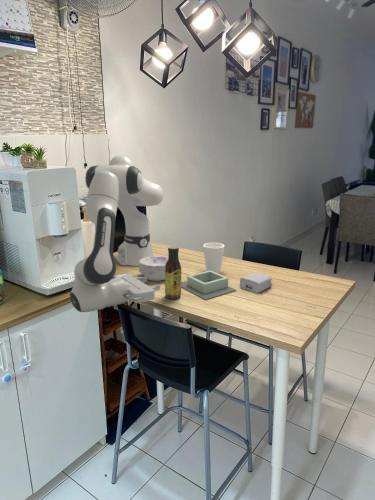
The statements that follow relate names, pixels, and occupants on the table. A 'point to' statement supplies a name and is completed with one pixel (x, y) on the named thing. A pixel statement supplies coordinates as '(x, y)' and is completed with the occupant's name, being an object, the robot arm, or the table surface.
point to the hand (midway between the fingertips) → (152, 282)
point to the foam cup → (213, 256)
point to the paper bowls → (153, 267)
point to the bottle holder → (214, 284)
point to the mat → (207, 295)
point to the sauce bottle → (173, 274)
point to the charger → (255, 282)
